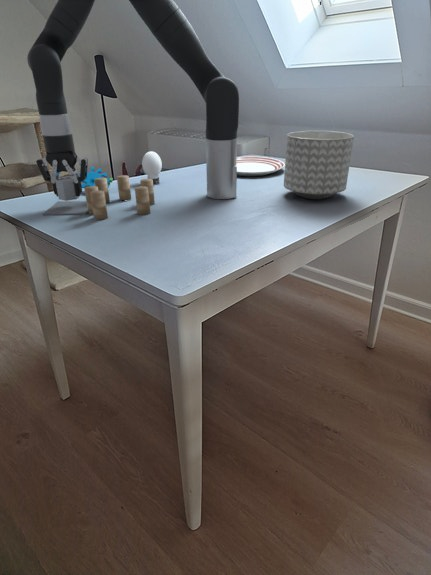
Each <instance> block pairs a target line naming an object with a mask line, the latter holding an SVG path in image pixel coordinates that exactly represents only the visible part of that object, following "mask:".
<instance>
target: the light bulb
mask: <svg viewBox="0 0 431 575" xmlns="http://www.w3.org/2000/svg"><path fill="white" fill-rule="evenodd" d="M162 163H163V162H162V159H161V157H160V155H159V154H158V153H157V152H155V151H150V150H149V151H148V152H146V153H145V154H144V155H143V157H142V161H141V164H142V165H141V166H142V169H143V170H142V171H143V172H144V173H145V174H146V175H147V178H146V179H152V180H153V186H155V185H159V184H160V177H159V174H161V171H162V167H163V165H162Z"/></svg>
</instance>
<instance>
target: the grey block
mask: <svg viewBox="0 0 431 575" xmlns="http://www.w3.org/2000/svg"><path fill="white" fill-rule="evenodd" d="M55 182H56V187H57V192H58V196H57V197H58V200H59V201H73V200H74V201H75V200H77V199H79V198H80V197H81V195H80V196H76V191H75V186H74V183H75V182H74V181H73V179H72V177H71V176H70V175H68V176H59V178H57V179H56V180H55Z"/></svg>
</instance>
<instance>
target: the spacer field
mask: <svg viewBox="0 0 431 575" xmlns="http://www.w3.org/2000/svg"><path fill="white" fill-rule="evenodd" d="M107 179H108V178H107V177H103V178H96V179H94V181H95V186H88V187H85V188H83V189H84V190H83V191H84V195H85V201H87V207H88V213H87V214H89V215H93V218H94V220H96V221H103V220H106V219H108V218H109V216H108V209H107V204H109V203H111V200H110V192H109V188H108V184H107ZM116 180H117V181H116V182H117V190H118V198H119V201H120V200H124V201H123V202H126V201H125V200H129V201H131V200H132V193H131V192H132V191H131V185H130V184H131V182H130V176H129V175H127V174H124V175H117V176H116ZM139 181H140V186H135V187H134V194H135V204H136V212H137V215H139V216H147V215H149V214H151V206H153V205H155V204H156V203H155V192H154V191H155V190H154V185H153V180H152V179H148V178H142V179H140V180H139ZM108 202H109V203H108ZM106 203H107V204H106Z"/></svg>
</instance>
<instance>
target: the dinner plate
mask: <svg viewBox="0 0 431 575" xmlns="http://www.w3.org/2000/svg"><path fill="white" fill-rule="evenodd" d="M236 166H237V176H245V177H248V176H249V177H254V176H255V177H257V176H266V175H269V174H272V173H275V172H277V171H279V170H282V169H284V168H285V161H282V160H280V159H278V158H277V159H276V158H272V157H266V156H236Z"/></svg>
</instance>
